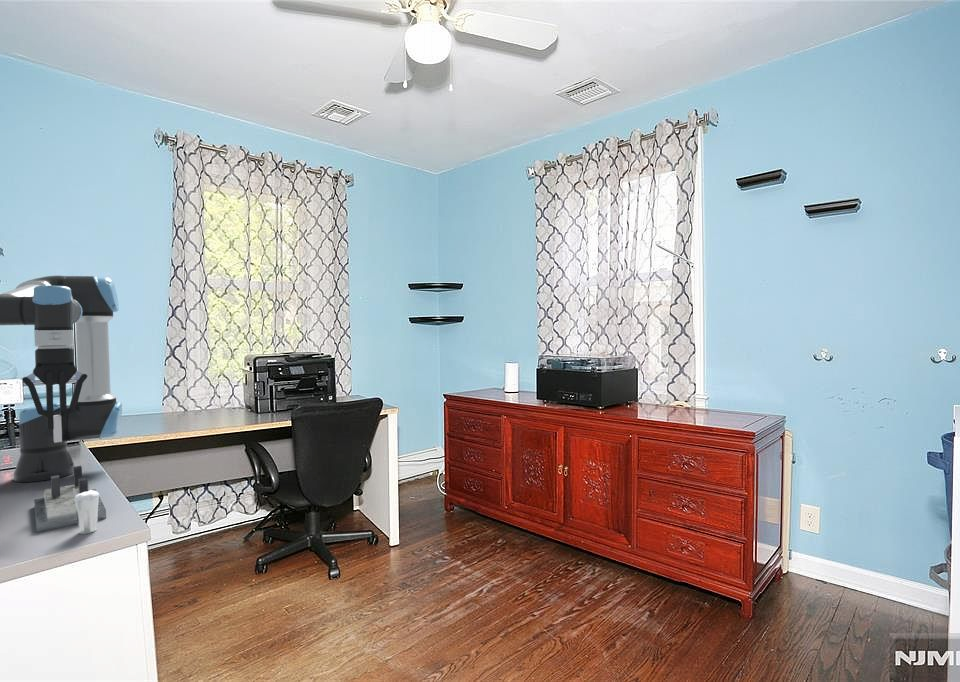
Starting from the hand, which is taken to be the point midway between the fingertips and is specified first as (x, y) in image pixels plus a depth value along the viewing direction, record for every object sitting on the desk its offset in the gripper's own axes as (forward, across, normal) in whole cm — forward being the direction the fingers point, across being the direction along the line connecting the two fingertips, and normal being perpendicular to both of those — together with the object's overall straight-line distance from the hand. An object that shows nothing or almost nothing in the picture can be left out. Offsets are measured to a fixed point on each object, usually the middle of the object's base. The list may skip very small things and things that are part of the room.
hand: (57, 441), depth 131 cm
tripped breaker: (+14, -1, 0) cm, 14 cm away
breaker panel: (+18, +2, 0) cm, 18 cm away
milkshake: (+19, +4, -20) cm, 27 cm away
